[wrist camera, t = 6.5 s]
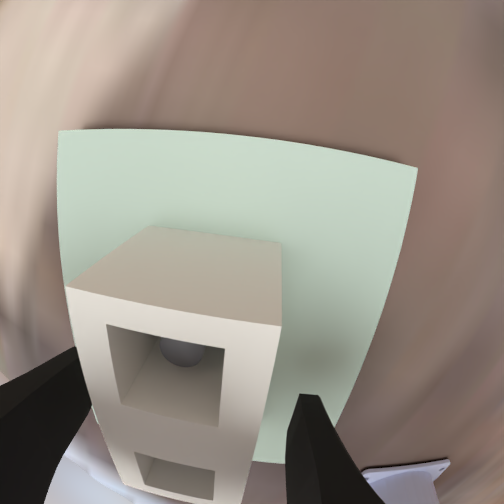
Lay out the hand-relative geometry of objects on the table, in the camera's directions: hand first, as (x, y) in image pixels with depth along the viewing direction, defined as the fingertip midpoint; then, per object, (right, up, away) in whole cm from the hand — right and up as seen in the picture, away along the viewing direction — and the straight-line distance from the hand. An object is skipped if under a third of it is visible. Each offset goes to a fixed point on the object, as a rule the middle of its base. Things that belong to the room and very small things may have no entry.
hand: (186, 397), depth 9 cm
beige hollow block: (0, +1, +3) cm, 3 cm away
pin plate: (0, +1, +4) cm, 4 cm away
